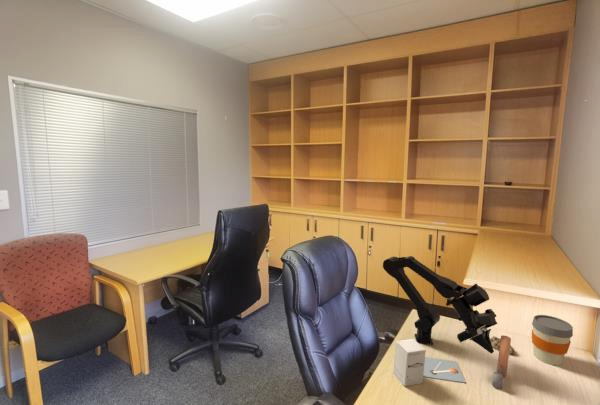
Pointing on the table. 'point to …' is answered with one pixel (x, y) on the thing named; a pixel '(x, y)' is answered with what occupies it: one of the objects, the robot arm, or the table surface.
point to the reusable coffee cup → (550, 339)
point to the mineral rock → (496, 345)
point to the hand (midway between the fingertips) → (492, 352)
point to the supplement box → (409, 362)
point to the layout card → (442, 370)
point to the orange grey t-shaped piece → (502, 362)
